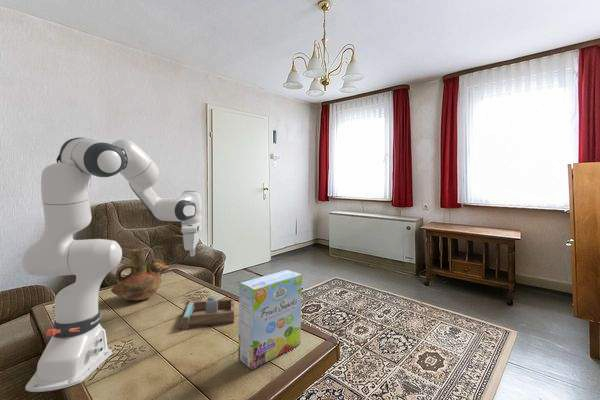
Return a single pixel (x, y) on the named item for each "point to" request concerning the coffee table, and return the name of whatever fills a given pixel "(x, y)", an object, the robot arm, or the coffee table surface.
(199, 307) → the brown wooden tray
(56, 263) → the robot arm
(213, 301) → the jaw block
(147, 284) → the ceramic vessel
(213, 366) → the coffee table surface
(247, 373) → the coffee table surface
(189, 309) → the retainer bar
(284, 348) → the snack box
